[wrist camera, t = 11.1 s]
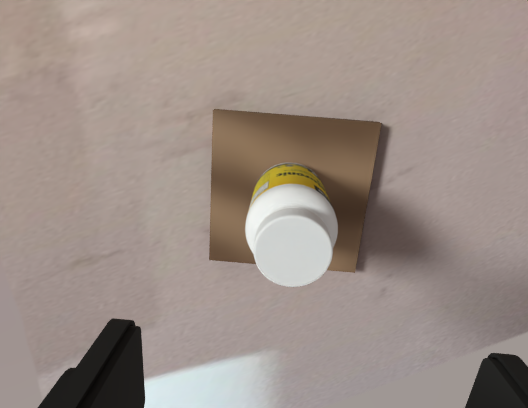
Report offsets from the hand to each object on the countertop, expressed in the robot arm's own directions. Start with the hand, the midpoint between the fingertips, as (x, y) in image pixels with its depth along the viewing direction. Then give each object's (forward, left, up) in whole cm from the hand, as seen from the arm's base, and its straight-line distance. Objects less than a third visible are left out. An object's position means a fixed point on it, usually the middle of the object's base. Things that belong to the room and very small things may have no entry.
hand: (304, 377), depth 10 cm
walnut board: (0, 0, -19) cm, 19 cm away
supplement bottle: (0, 0, -18) cm, 18 cm away
